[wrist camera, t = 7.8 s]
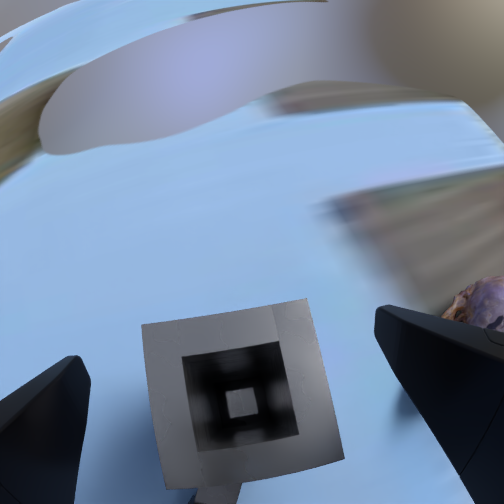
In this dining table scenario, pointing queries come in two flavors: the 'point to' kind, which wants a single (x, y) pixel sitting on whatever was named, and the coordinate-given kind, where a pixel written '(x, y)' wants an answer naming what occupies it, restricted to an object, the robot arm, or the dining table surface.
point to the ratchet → (235, 414)
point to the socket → (233, 368)
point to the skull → (480, 304)
